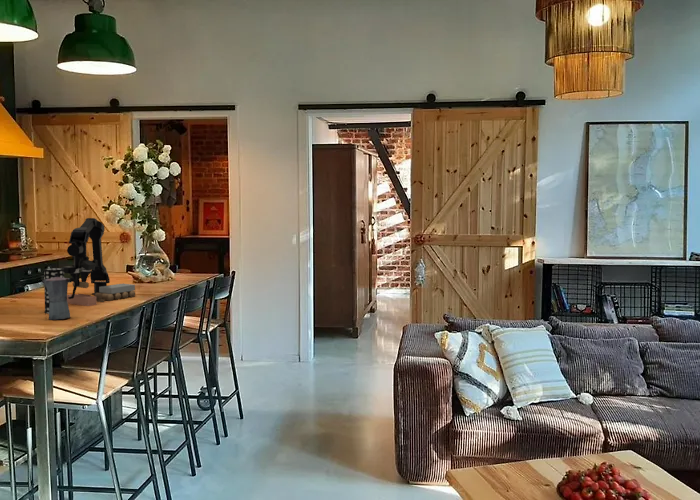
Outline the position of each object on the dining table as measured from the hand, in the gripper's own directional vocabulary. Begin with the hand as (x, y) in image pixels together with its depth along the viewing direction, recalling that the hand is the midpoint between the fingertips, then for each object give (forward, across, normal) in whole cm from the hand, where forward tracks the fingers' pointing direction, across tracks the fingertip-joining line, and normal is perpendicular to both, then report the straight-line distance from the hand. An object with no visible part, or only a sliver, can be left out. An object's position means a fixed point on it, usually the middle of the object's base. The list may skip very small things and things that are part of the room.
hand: (80, 285), depth 327 cm
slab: (+6, +24, 0) cm, 24 cm away
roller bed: (+9, +18, 0) cm, 20 cm away
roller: (+1, 0, 0) cm, 1 cm away
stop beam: (+9, 0, 0) cm, 9 cm away
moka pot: (+9, -31, -24) cm, 40 cm away
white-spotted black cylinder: (+9, -22, -9) cm, 26 cm away
